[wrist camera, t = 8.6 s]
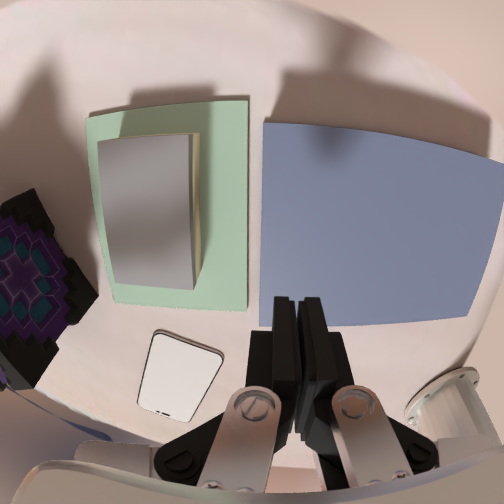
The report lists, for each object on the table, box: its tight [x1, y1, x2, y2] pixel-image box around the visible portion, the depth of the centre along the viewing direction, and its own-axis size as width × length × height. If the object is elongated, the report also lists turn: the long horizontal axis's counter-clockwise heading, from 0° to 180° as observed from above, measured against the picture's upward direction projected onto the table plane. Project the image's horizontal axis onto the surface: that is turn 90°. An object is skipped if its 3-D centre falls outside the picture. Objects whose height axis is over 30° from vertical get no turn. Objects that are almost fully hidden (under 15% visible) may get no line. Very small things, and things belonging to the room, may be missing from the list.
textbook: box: [259, 123, 504, 327], centre depth 18 cm, size 13×18×4 cm
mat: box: [85, 101, 248, 312], centre depth 20 cm, size 16×12×1 cm
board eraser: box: [97, 133, 202, 290], centre depth 18 cm, size 10×6×3 cm, turn 178°
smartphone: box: [137, 331, 224, 422], centre depth 29 cm, size 7×1×15 cm
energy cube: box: [0, 188, 99, 391], centre depth 18 cm, size 12×12×12 cm
